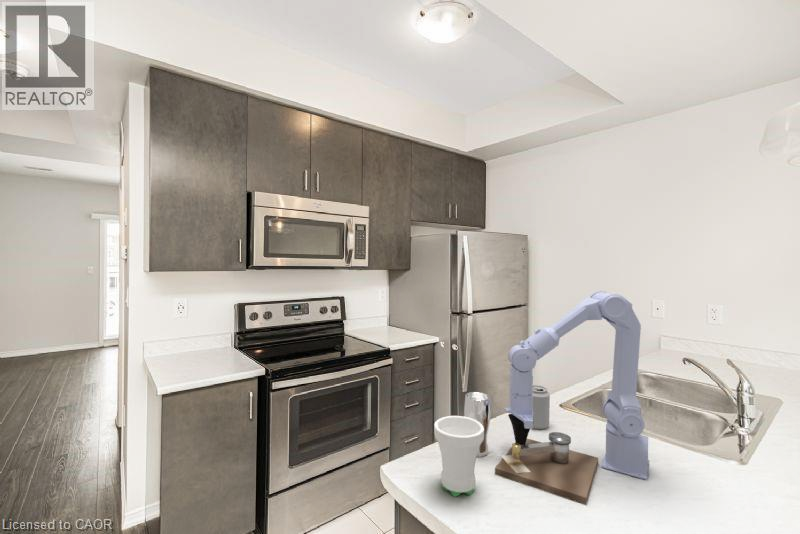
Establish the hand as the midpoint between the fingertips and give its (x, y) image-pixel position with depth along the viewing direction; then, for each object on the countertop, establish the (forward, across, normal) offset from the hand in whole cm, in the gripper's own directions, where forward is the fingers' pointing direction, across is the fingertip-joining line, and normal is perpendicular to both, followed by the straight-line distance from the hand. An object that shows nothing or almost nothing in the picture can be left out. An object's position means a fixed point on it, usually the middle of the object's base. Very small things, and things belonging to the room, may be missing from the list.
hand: (520, 444), depth 99 cm
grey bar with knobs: (+2, +4, +4) cm, 6 cm away
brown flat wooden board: (+4, +4, +6) cm, 8 cm away
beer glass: (+4, -3, -11) cm, 12 cm away
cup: (+4, +14, -18) cm, 23 cm away
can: (+4, -21, +11) cm, 24 cm away
